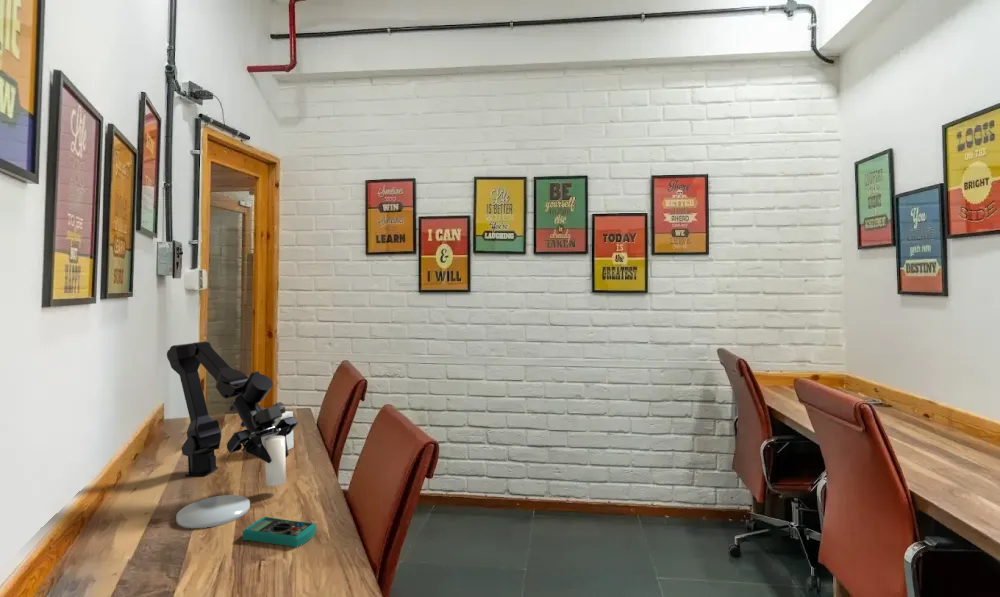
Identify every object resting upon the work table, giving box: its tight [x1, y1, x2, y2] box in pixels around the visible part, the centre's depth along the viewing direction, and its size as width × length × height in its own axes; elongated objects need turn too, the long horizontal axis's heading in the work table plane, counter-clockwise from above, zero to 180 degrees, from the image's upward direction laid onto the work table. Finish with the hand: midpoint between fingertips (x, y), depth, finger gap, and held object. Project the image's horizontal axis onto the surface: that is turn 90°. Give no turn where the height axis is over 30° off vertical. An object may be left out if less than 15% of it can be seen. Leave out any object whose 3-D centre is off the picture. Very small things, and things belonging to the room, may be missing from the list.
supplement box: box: [261, 410, 295, 451], centre depth 177 cm, size 7×7×13 cm
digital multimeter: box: [242, 516, 317, 548], centre depth 118 cm, size 7×15×3 cm, turn 75°
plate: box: [175, 494, 251, 530], centre depth 131 cm, size 16×16×1 cm
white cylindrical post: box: [264, 436, 287, 487], centre depth 142 cm, size 5×5×12 cm
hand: (278, 458), depth 141 cm, fingers closed on white cylindrical post, 5 cm apart
